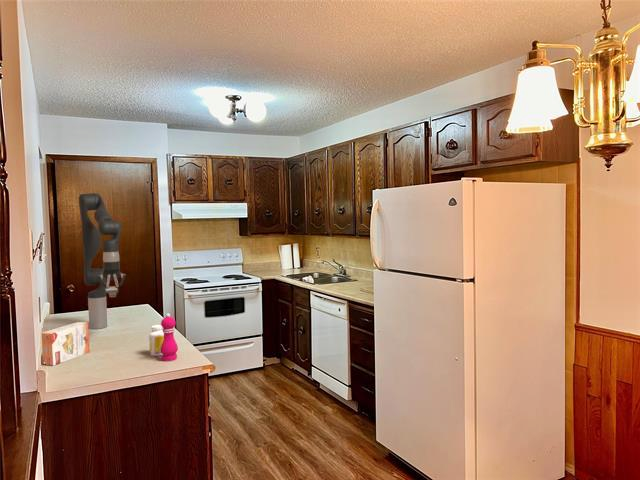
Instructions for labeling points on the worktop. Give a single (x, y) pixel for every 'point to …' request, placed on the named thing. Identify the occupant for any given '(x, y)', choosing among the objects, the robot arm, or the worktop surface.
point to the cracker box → (65, 343)
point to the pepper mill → (168, 339)
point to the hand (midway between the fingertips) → (112, 294)
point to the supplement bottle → (156, 340)
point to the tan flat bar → (112, 291)
